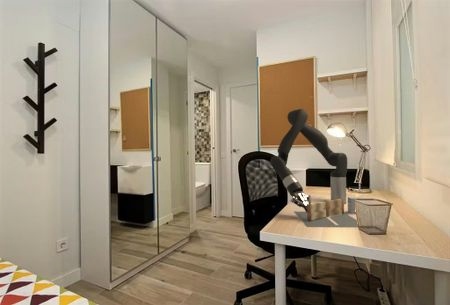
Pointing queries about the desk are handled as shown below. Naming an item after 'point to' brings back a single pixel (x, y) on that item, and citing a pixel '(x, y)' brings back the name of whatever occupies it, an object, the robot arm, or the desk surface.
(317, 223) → the board
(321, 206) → the fence swing section
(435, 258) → the desk surface
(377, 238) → the desk surface
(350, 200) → the medicine box
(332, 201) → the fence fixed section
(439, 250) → the desk surface
